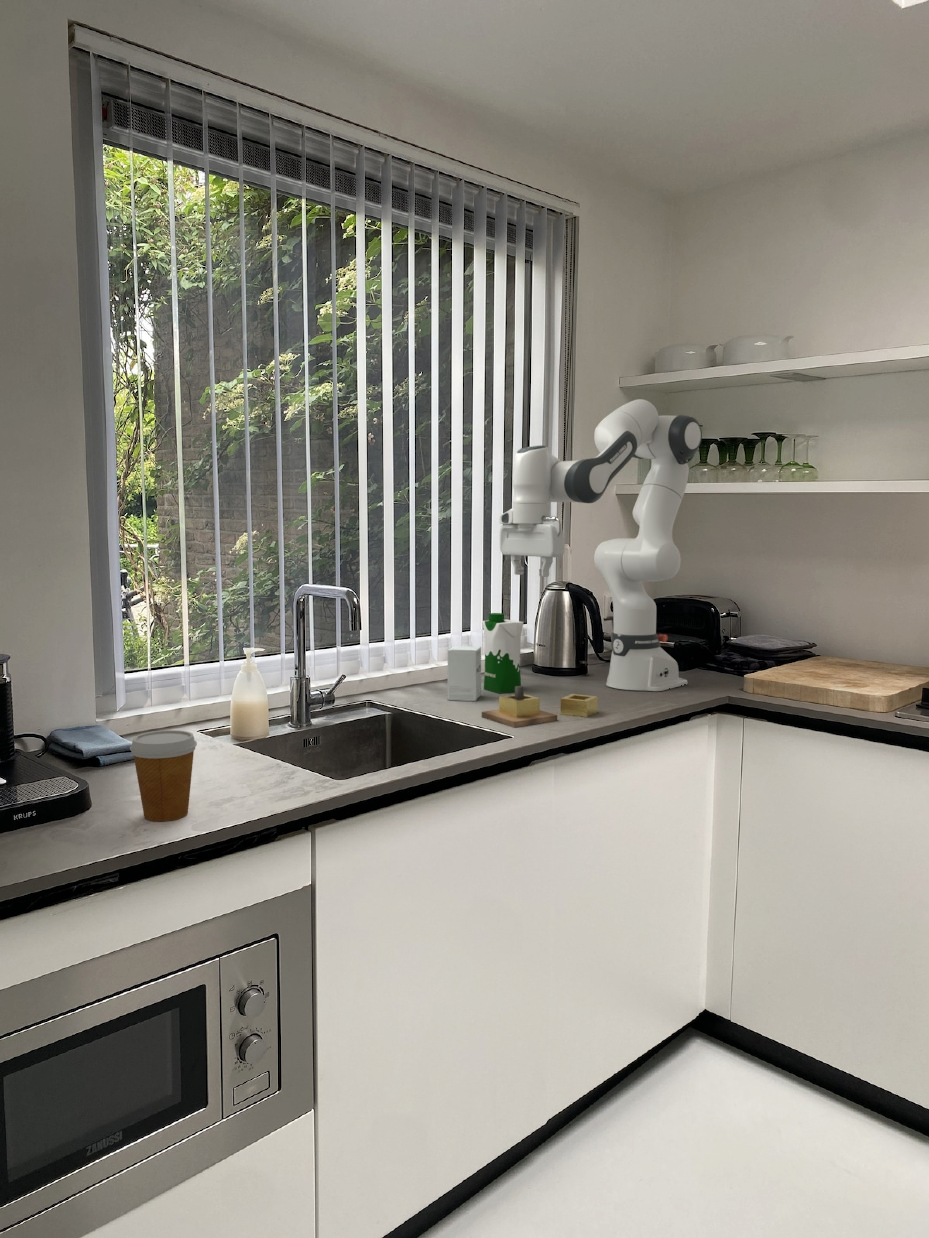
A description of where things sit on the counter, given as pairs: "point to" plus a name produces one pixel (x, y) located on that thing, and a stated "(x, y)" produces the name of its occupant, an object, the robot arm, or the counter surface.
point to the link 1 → (519, 706)
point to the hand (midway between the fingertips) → (531, 575)
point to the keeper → (520, 721)
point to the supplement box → (464, 673)
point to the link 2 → (579, 705)
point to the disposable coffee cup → (164, 772)
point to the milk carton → (502, 653)
